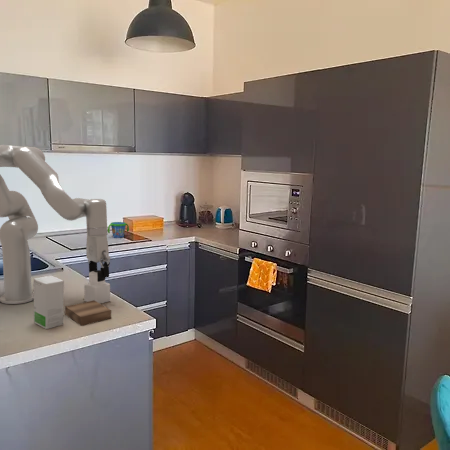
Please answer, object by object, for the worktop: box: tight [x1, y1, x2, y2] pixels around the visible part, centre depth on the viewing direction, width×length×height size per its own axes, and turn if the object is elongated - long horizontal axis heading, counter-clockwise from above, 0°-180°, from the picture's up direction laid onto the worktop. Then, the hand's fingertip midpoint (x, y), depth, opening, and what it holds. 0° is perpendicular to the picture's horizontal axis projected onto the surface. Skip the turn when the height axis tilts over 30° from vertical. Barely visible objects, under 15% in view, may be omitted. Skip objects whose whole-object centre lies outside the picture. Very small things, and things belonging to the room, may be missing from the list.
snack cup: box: [107, 221, 130, 239], centre depth 300 cm, size 16×10×10 cm
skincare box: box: [33, 274, 65, 330], centre depth 143 cm, size 8×7×16 cm
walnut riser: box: [64, 300, 112, 326], centre depth 152 cm, size 13×11×3 cm
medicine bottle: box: [83, 269, 111, 305], centre depth 167 cm, size 7×7×12 cm
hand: (99, 274), depth 167 cm, fingers open, 9 cm apart
